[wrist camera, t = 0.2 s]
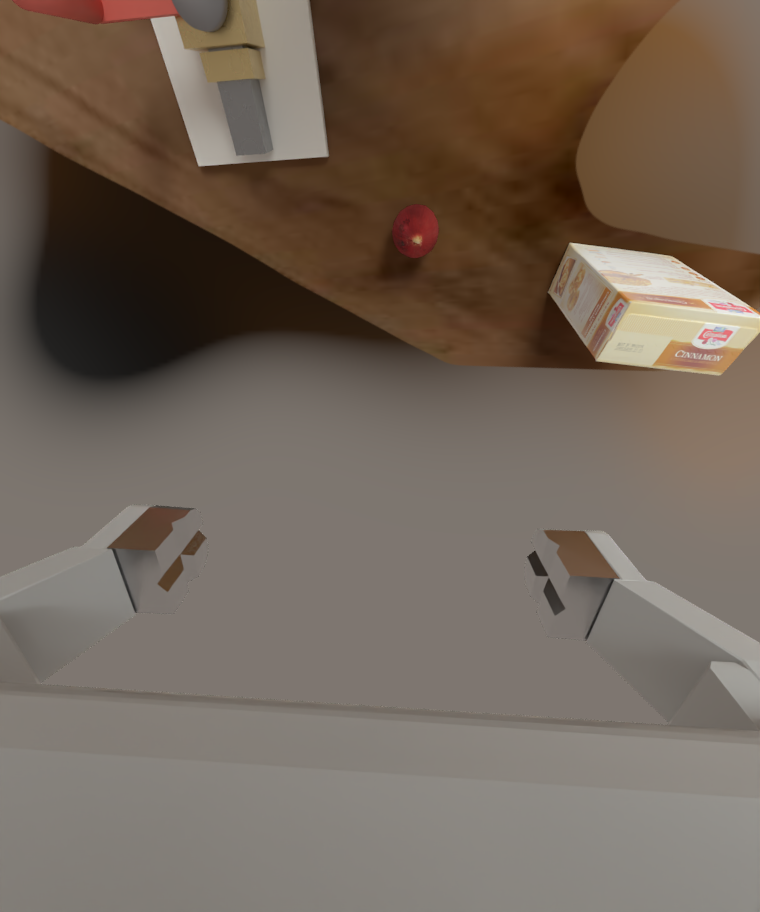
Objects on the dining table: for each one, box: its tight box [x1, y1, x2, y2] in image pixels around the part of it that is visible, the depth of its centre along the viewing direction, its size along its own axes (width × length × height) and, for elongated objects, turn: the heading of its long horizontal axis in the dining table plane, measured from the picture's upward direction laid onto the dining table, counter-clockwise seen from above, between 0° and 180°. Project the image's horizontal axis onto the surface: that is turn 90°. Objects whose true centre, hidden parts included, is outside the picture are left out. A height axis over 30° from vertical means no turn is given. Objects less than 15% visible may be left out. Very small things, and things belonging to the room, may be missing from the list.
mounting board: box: [151, 0, 329, 166], centre depth 36 cm, size 24×16×1 cm, turn 4°
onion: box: [392, 204, 439, 258], centre depth 46 cm, size 6×6×8 cm
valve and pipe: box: [175, 0, 273, 156], centre depth 34 cm, size 22×6×7 cm, turn 4°
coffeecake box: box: [548, 243, 760, 375], centre depth 46 cm, size 15×7×20 cm, turn 84°
